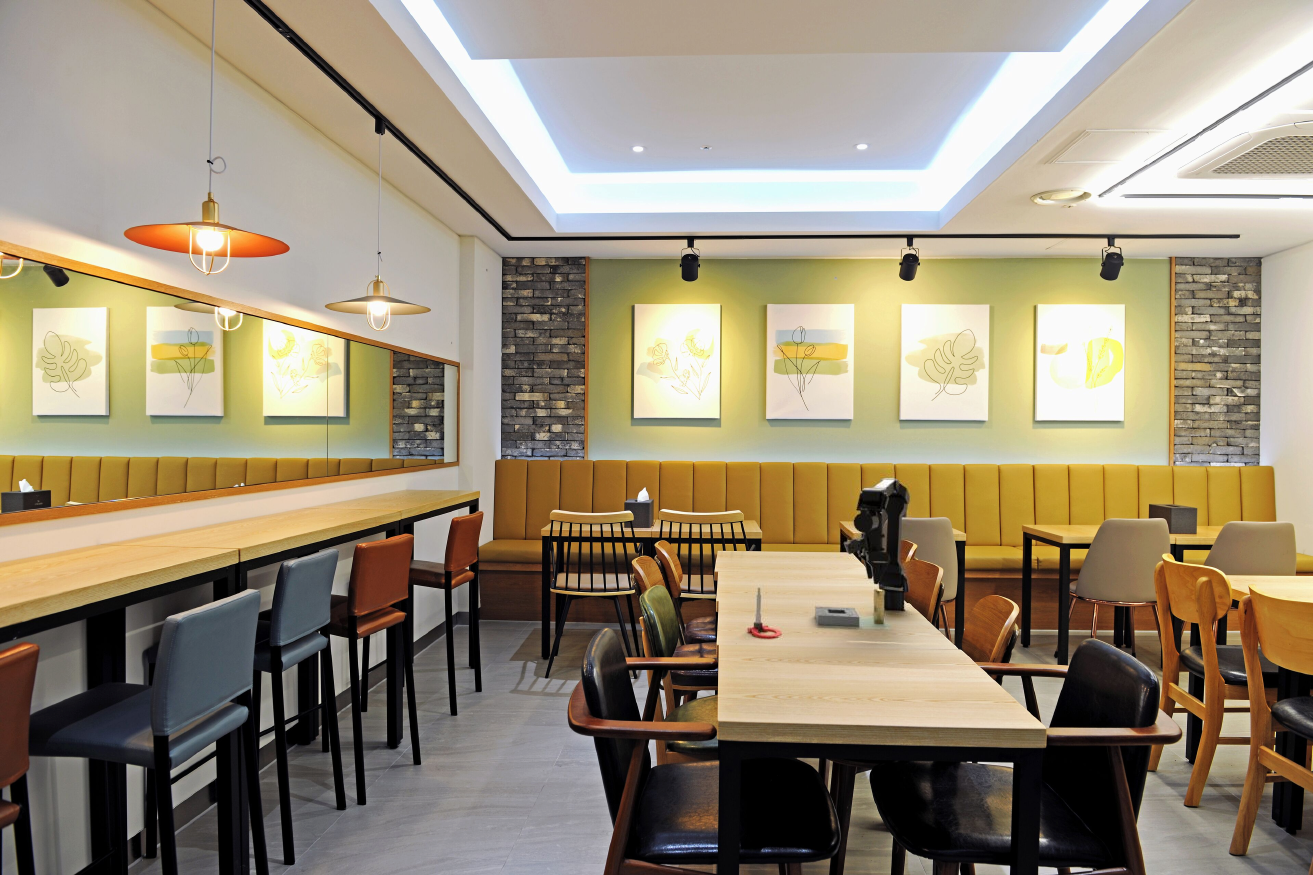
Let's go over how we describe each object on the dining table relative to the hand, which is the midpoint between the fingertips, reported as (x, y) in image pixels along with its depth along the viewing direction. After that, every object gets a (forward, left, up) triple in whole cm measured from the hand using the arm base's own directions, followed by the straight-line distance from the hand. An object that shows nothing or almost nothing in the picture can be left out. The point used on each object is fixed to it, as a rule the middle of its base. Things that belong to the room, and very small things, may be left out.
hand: (872, 581), depth 222 cm
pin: (-2, -1, -13) cm, 13 cm away
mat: (+6, -1, -13) cm, 14 cm away
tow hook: (+32, +16, -13) cm, 39 cm away
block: (+11, -1, -13) cm, 17 cm away
